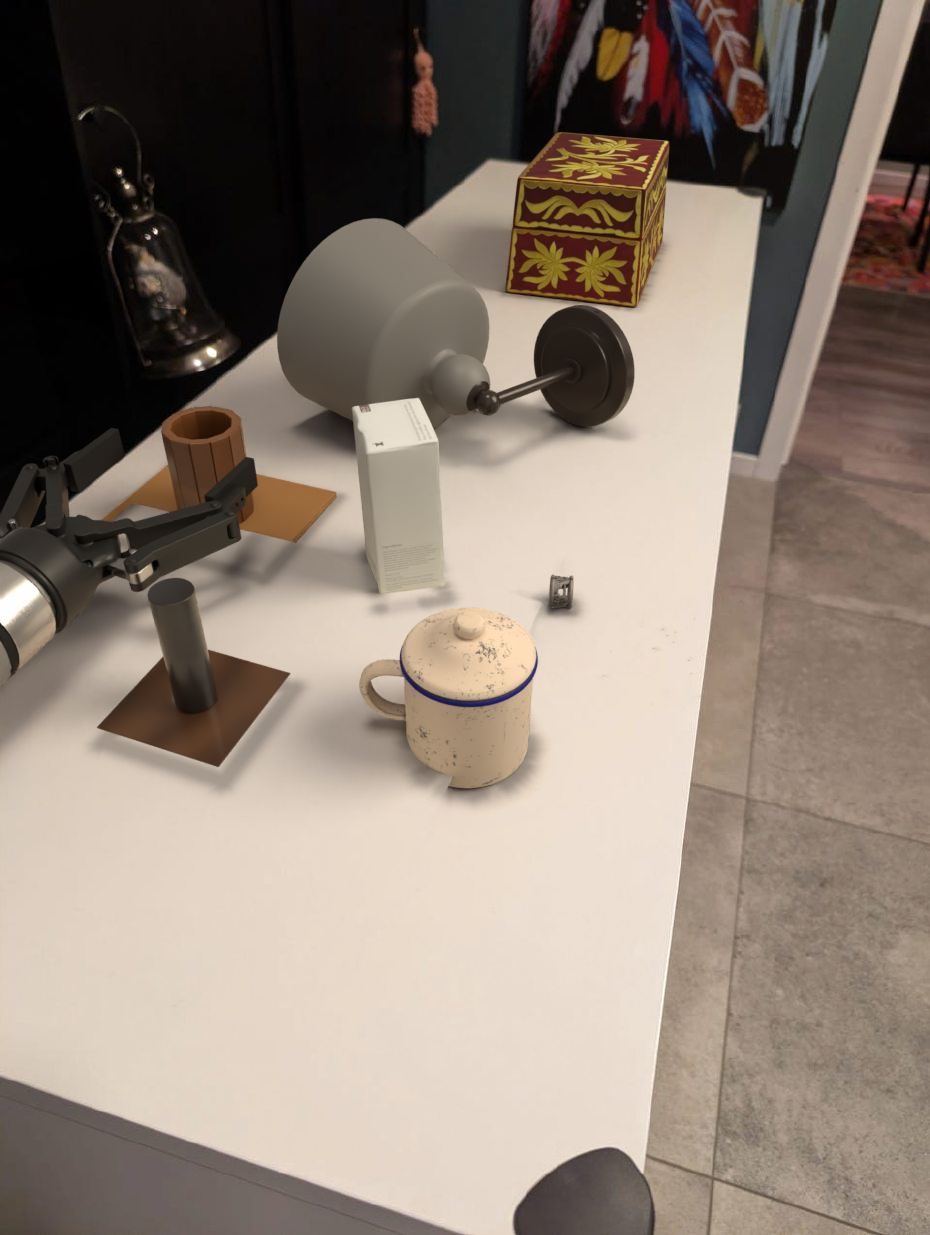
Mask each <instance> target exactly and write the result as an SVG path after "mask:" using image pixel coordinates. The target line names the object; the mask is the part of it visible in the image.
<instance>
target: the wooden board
mask: <svg viewBox="0 0 930 1235" xmlns="http://www.w3.org/2000/svg"><path fill="white" fill-rule="evenodd" d="M256 476H257V482H258V486H257V487H256V488H255V489H254V490H253V491H252V493H253V500H254V512H253V513H252V514H251V515H250V516H249V517H248V518H247V519H246V520H245V521H244V522H242V523H240V524H239V526H240V531H245V532H250V533H254V534H259V535H262V536H266V537H270V538H274V539H278V540H283V541H286V542H291V543H296V542H297V541H298V540H299V539H300V538H301V537H302V536H303V535H304V534H305V532H307V530H308V529H309V528H310V527H311V526H312V525H313V524H314V523H315V522H316V520H317V519H318V518H319V517H320V516H321V515H322V514H323V513H324V511H325V510H326V509H327V508H328V507H329V506H330V504H331V503H332V502H334V501H335V499H336V498H337V492H336V491H333V490H329V489H324V488H320V487H316V486H311V485H308V484H303V483H300V482H299V483H298V482H294V481H289V480H286V479H280V478H276V477H273V476H268V475H262V474H259V473H256ZM133 504H135V505H138V506H139V505H140V506H143V507H147V508H151V509H154V510H158V511H159V510H160V511H163V512H166V513H169V512H172V511H176V510H178V508H177V503H176V499H175V494H174V489H173V485H172V480H171V476H170V471H169V466H168V464H167V465H166V466H164V467H163V468H162V469H160V470H159V471H158V472H157V473H156V474H154V476H152V477H151V478H150V479H149V480H147V481H146V482H145V483H144V484H143V485H142V486H140V487H139V488H138V489H137V490H136V491H134V492H133V493H132V494H131V495H129V496H128V497H127V498H125V500H123V501H122V502H121V503H120V504H118V505H117V506H116V507H115V508H114V509H112V510H111V511H110V512H109V513H108V514H106V515H105V516H104V517H103V518H101V520H103V521H108V522H113V521H114V520H115V519H116V518H117V517H118V516H120V515H121V514H122V513H123V512H125V510H127V509H128V508H129V507H130V506H132V505H133Z"/></svg>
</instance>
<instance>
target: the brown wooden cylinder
mask: <svg viewBox="0 0 930 1235" xmlns="http://www.w3.org/2000/svg"><path fill="white" fill-rule="evenodd" d="M243 430H244V429H243V423H242V417H241V416H240V415H239V414H237V413H236V412H235V411H233V410H232V409H229V408H226V407H220V406H215V405H214V406H213V405H203V406H193V407H189V408H186V409H183V410H180V411H177V412H175V413H172V414H171V415H170V416H169V417H167V418H165V420H163V422H162V423H161V429H160V434H161V438H162V443H163V448H164V451H165V457H166V462H167V465H168V466H169V471H170V476H171V480H172V485H173V489H174V494H175V499H176V503H177V508H178V510H180V509H184V508H187V507H191V506H195V505H198V504H202V503H205V498H204V495H205V494H206V493H207V492H208V491H209V490H211V489H212V488H213V487H214V486H215V485H216V484H217V483H218V482H219V481H220V480H221V479H222V478H224V477H225V476H226V475H227V474H228V473H229V472H230V471H231V470H232V469H233V468H234V467H235V466H237V465H238V464H239V463H240V462H241V461H242V460H243V459H244V458H245V457H248V455H247V449H246V444H245V437H244V431H243ZM253 512H254V500H253V493H252V492H251V493H250V494H249V495H248V496H247V497H246V505H245V506H244V507H243V508H242V509H241V510H240V511H239V512H238V513H237V514H238V520H239V524H240V523H242V522H244V521H245V520H246V519H247V518H248V517H249V516H250V515H251V514H252V513H253ZM207 518H208V516H207Z"/></svg>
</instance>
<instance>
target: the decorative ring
mask: <svg viewBox="0 0 930 1235" xmlns="http://www.w3.org/2000/svg"><path fill="white" fill-rule="evenodd" d="M574 581H575V580H574V576H573V575H569V576H560V575H555V574H551V576H550V578H549V589H548V590H549V591H548V607H549V608H550V609H552V608H555V609H556V608H567V610H571V609H572V607H573V600H574V599H573V598H574ZM559 590H562V594H560V593H559Z"/></svg>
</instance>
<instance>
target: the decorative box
mask: <svg viewBox="0 0 930 1235" xmlns="http://www.w3.org/2000/svg"><path fill="white" fill-rule="evenodd" d="M669 156H670V141H669V140H661V139H649V138H639V137H638V138H637V137H623V136H613V135H602V134H601V135H600V134H589V133H588V134H586V133H574V132H562V131H561V132H556V133H554V135H553V136H552V137H551V138H550V139H549V140H548V141H547V143H546V144H545V145H544V146H543V148H541V150H539V152H538V153H537V154H536V156H535V157H533V159H532V160H531V161H530V163H528V165H527V166H526V167H525V168H524V169H523V170H522V171H521V173H520V174H519V175H518V177H517V180H516V188H515V196H514V204H513V205H514V206H513V216H512V224H511V226H512V228H511V234H510V241H509V242H510V243H509V251H508V252H509V253H508V262H507V270H506V280H505V288H504V289H505V292H506V293H512V294H518V295H519V294H520V295H527V296H528V295H530V296H536V297H537V296H538V297H546V298H555V299H563V300H570V301H579V302H587V303H588V302H589V303H596V304H606V305H613V306H621V307H633V308H634V307H635V308H636V307H637V306H638V305H639V302H640V300H641V298H642V295H643V292H644V290H645V288H646V284H647V282H648V279H649V277H650V274H651V272H652V270H653V266H654V264H655V261H656V259H657V256H658V253H659V251H660V249H661V246H662V243H663V237H664V227H665V226H664V224H665V211H666V198H667V196H666V195H667V183H668V182H667V181H668V171H669V170H668V169H669Z"/></svg>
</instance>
